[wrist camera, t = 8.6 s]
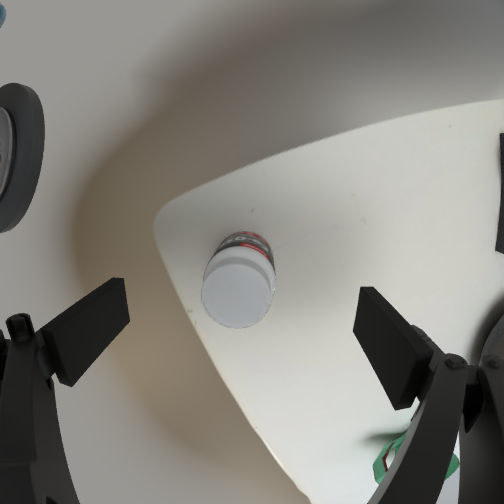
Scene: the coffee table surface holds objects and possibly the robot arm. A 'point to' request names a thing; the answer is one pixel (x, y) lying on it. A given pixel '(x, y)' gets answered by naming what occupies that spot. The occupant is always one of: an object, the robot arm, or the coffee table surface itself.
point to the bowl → (495, 341)
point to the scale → (503, 230)
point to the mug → (380, 462)
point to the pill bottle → (239, 281)
